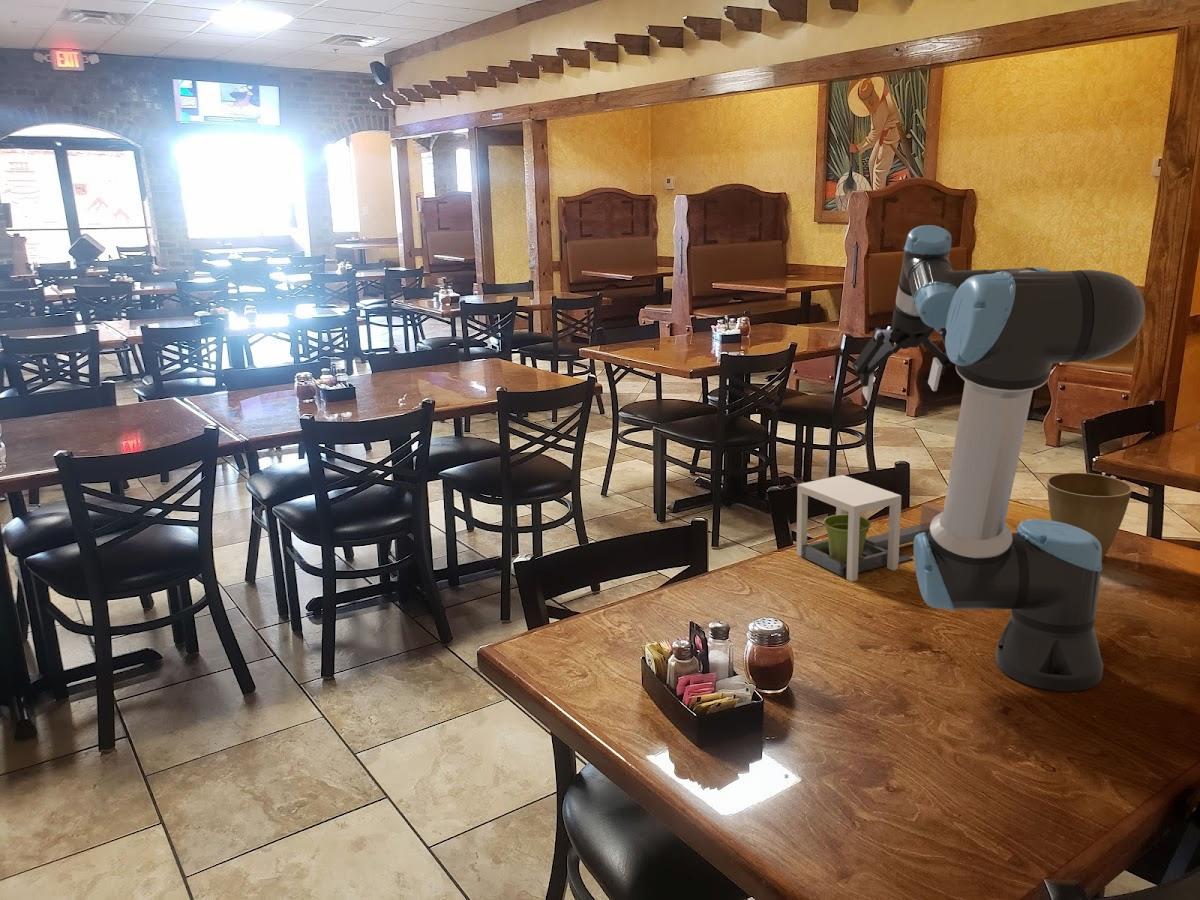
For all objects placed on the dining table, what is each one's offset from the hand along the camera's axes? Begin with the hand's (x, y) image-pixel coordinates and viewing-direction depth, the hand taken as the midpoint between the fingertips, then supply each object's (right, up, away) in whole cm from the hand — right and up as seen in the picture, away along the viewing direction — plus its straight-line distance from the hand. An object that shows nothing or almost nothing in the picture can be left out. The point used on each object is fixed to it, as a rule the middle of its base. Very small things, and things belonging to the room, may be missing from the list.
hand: (899, 391), depth 185 cm
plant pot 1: (-10, -35, +4) cm, 37 cm away
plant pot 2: (+37, -34, 0) cm, 50 cm away
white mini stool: (-7, -34, +5) cm, 35 cm away
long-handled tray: (0, -33, +8) cm, 34 cm away
